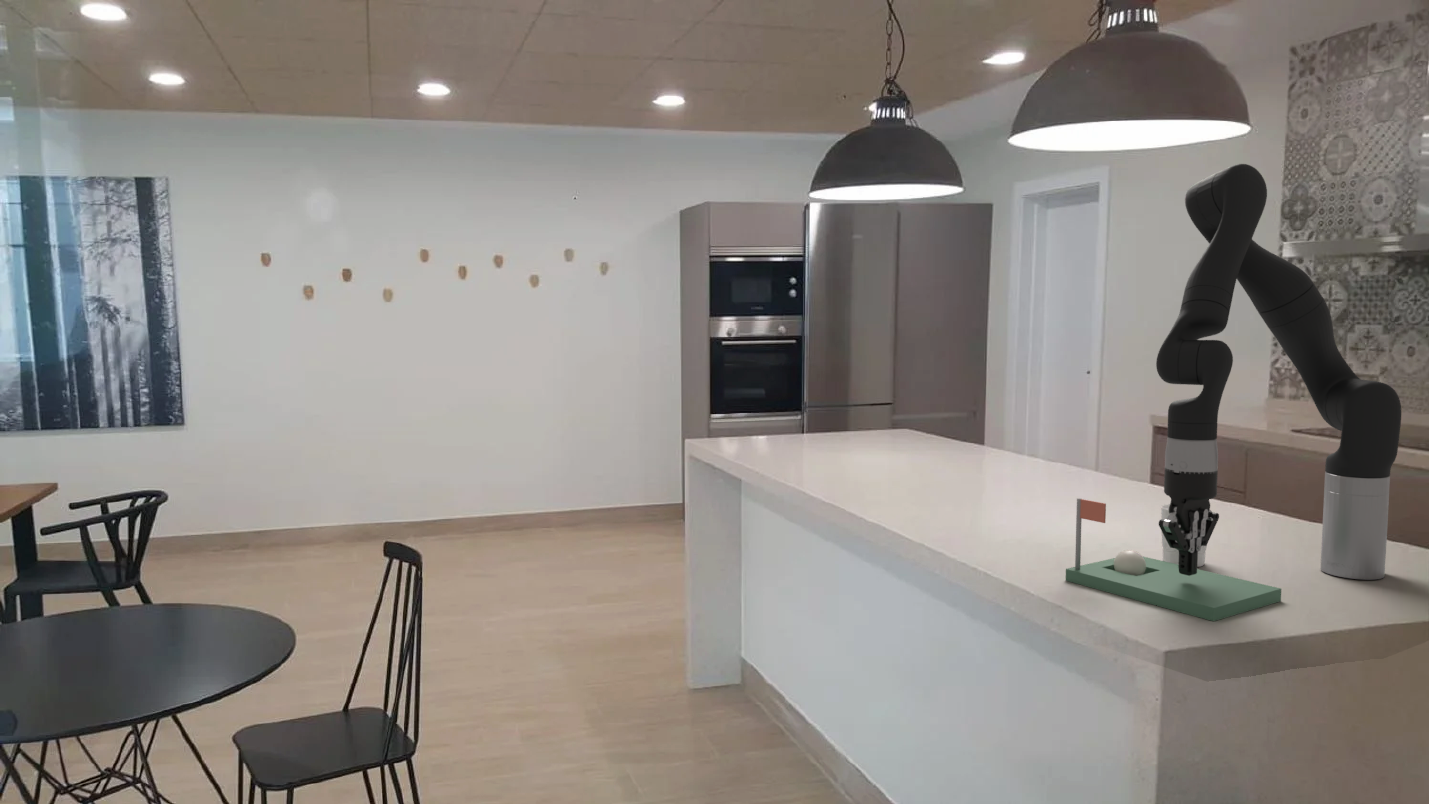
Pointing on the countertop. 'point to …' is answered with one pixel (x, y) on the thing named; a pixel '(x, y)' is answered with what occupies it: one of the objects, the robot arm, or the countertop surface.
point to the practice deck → (1168, 581)
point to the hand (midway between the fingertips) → (1187, 573)
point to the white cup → (1172, 553)
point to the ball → (1130, 563)
